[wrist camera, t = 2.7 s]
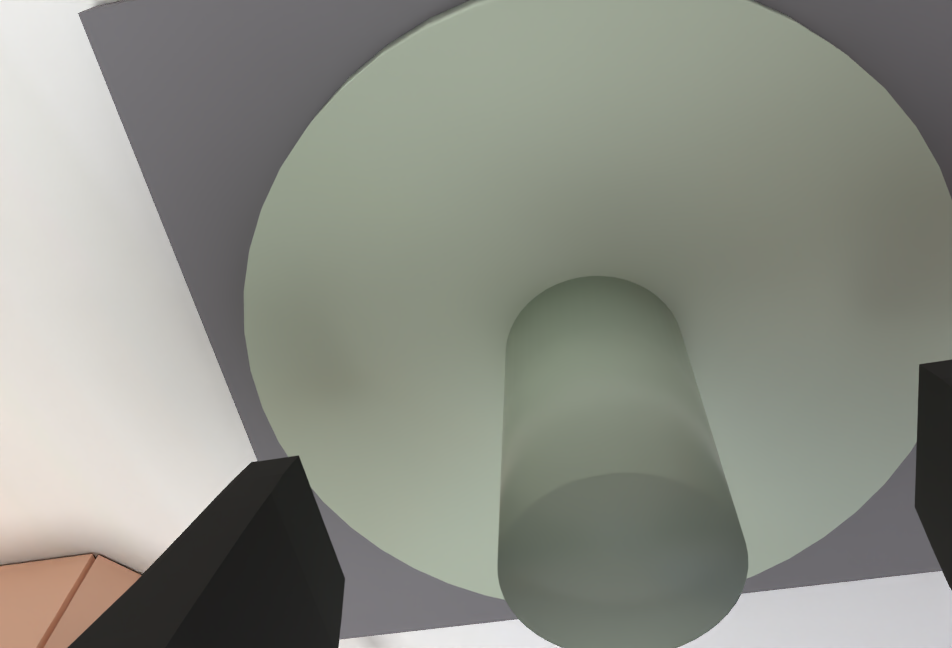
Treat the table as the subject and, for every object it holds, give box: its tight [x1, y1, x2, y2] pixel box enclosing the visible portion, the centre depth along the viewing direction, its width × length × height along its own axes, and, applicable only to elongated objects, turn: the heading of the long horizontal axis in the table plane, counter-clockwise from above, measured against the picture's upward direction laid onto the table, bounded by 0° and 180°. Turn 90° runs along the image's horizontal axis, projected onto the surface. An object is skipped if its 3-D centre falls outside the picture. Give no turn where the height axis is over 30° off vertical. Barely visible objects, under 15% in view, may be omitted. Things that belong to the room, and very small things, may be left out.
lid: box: [244, 0, 952, 648], centre depth 12 cm, size 10×10×5 cm
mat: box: [78, 0, 952, 639], centre depth 14 cm, size 12×12×1 cm
